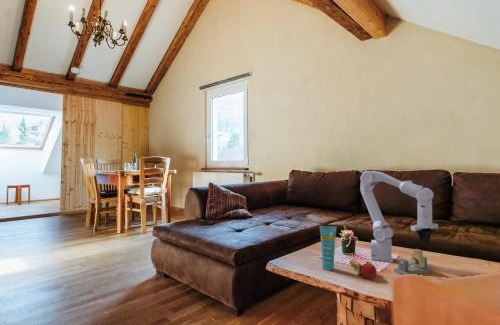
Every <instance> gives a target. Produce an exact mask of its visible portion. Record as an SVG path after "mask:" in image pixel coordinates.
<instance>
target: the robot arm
mask: <svg viewBox="0 0 500 325" xmlns="http://www.w3.org/2000/svg"><path fill="white" fill-rule="evenodd" d="M359 180H360V186H359V187H360V188H359V191H360V194H361V196H362V198H363V201H364V203H365V205H366V206H365V207H366V208H367V210H368V213H369V216H370V218H371V221H372V230H373V237H374V239H371V241H370V243H371V244H370V259H371V260H372V259H373V261H379V260H380V262H381V261H382V262H386V263H387V262H388V263H393V261H394V260H393V256H392V254H393V253H392V252H393V251H392V250H393V248H392V244H393V242H392V237H393V236H394V230H393V228H392V227H391V226H389V223H388V221H386V220H385V218H384V216H383V214H382V212H381V211H382V210H381V209H380V207H379V204H378V201H377V199H376V197H375V193H374V192H373V190H374V188H375V186H376V185H377V184H378V183H380V182H384V183H386V184H388V185H391V186H394V187H396V188H398V189H399V190H400V192H401V193H403V194H405V195H408V196H410V197H412V198H415V199H416V200H417V204H416V205H417V208H416V209H417V210H416V211H417V212H416V214H417V215H416V217H417V220H416V222H417V223H416V224H414V225H410V231H413V232H416V234H417V235H418V237H419V240H420V244H421V245H422V246H424V247H428V246H429V243H430V240H431V238H432V235H433V234H434V232H435V231H434V229H439V224H438V223H433V201H432V200H433V198H434V192H433V190H431V189H430V188H429V187H424V186H423V185H419V184H416V183H413V181H412V180H405V181H402V180H399V179H397V178H395V177H393V176H392V175H388V174H387V173H385V172H381V171H377V170H365V171H363V172H362V173H361V175H360V177H359Z"/></svg>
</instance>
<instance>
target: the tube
mask: <svg viewBox="0 0 500 325" xmlns="http://www.w3.org/2000/svg"><path fill="white" fill-rule="evenodd" d="M319 232H320V242H321V264H322V267H321V268H322V269H323V270H326V271H332V270H334V267H335V266H334V265H335V248H336V235H337V226H334V225H333V226H329V225H328V226H327V225H319Z"/></svg>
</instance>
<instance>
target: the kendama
mask: <svg viewBox="0 0 500 325" xmlns="http://www.w3.org/2000/svg"><path fill="white" fill-rule="evenodd" d="M349 264H350V265H351V266H353V270H354V272H355V274H356V275H358V276H359V275H361V274H362V276H363V277H364V278H366V279H373V278H375V277H376V276H377V268H376V267H375V265H374V264H373V263H372V262H371V261H370V260H369V261H366V262H365V263H363V264H362V263H361V262H359V261H357V260H355V259H354V258H351V259H350V260H349Z"/></svg>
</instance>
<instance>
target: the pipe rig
mask: <svg viewBox="0 0 500 325" xmlns="http://www.w3.org/2000/svg"><path fill="white" fill-rule="evenodd" d="M424 257H425V267H424V268H419V267H416V266H414V265H411V264H415V263H418V259H412V260H411V259H404V258H398V267H395V268H393V272H394V273H395V274H398V275H399V276H402V275H404V274H418V275H417V276H419V275H423V274H427V273H428V274H429V273H432V272H431V271H432V270H433V269H432V268H431V267H429V266H428V258H427V257H426V256H424Z"/></svg>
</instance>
